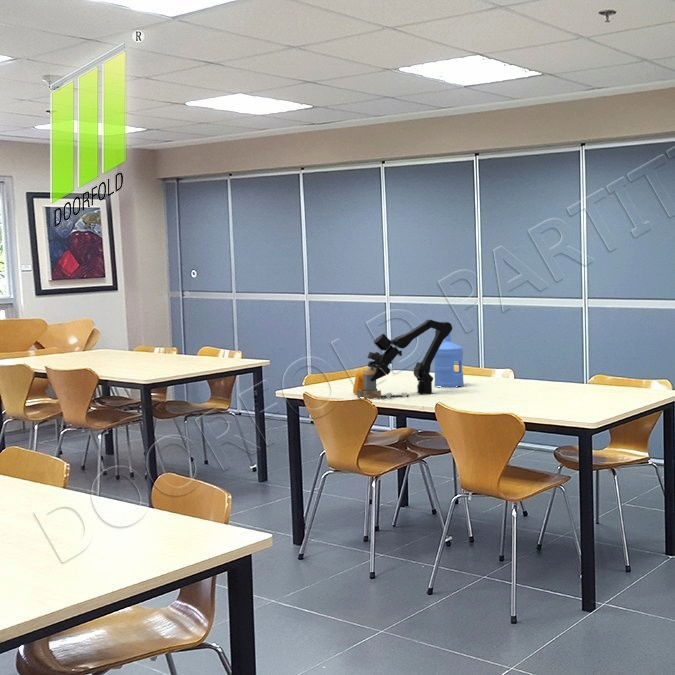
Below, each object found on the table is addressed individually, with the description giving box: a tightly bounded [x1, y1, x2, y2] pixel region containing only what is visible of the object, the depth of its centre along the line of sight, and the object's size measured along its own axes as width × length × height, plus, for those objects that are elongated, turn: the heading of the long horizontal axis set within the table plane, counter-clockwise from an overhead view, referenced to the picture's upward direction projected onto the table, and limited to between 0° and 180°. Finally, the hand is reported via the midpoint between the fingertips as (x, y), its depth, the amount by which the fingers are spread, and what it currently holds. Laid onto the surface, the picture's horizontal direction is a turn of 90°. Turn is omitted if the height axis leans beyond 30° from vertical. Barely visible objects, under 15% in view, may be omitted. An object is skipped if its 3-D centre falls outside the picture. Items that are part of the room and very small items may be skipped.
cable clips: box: [385, 392, 408, 398], centre depth 459 cm, size 10×4×2 cm, turn 86°
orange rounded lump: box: [352, 370, 364, 395], centre depth 475 cm, size 11×7×12 cm, turn 141°
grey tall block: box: [362, 366, 377, 391], centre depth 460 cm, size 5×5×14 cm
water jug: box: [433, 333, 465, 388], centre depth 496 cm, size 16×16×28 cm
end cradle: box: [356, 387, 382, 400], centre depth 460 cm, size 10×10×4 cm
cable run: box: [381, 394, 410, 398], centre depth 459 cm, size 15×2×1 cm, turn 83°
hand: (368, 380), depth 460 cm, fingers open, 9 cm apart
